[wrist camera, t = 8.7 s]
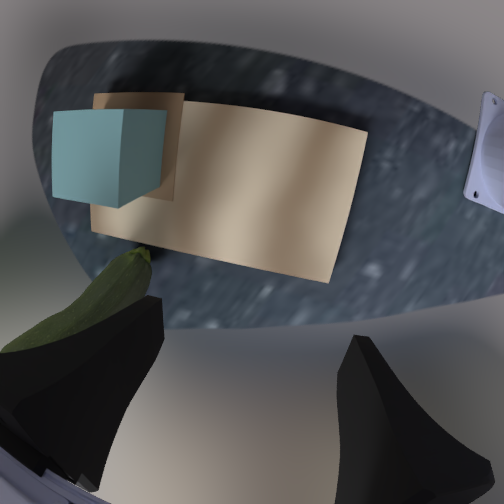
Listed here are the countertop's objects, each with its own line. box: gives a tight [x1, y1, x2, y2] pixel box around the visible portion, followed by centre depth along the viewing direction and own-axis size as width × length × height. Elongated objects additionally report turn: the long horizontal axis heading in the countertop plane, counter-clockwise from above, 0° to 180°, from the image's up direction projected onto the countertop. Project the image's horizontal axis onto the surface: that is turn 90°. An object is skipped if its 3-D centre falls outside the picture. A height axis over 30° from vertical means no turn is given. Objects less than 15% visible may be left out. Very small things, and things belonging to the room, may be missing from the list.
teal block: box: [52, 109, 167, 209], centre depth 15 cm, size 5×5×5 cm
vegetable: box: [0, 247, 152, 353], centre depth 14 cm, size 4×4×20 cm
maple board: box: [90, 92, 368, 283], centre depth 18 cm, size 18×10×1 cm, turn 81°
